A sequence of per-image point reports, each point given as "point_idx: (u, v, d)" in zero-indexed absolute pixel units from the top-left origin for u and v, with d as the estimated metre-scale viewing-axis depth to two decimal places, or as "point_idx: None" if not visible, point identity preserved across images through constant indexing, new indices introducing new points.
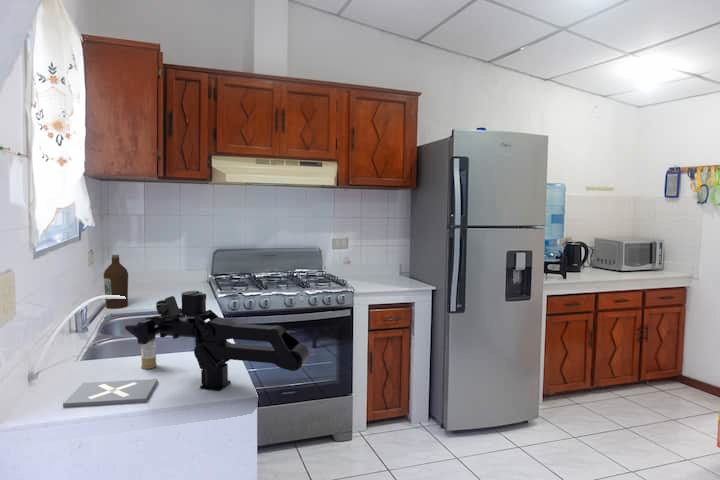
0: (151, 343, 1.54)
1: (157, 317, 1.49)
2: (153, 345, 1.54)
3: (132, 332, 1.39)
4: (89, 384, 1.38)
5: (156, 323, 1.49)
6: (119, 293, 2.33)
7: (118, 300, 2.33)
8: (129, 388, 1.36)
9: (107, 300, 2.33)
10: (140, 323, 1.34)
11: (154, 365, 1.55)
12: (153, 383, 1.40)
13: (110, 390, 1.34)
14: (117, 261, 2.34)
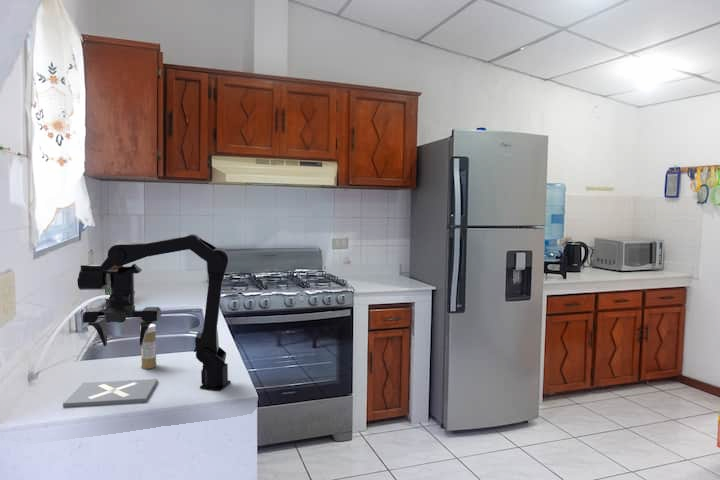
0: (151, 343, 1.54)
1: (103, 333, 1.33)
2: (153, 345, 1.54)
3: None
4: (89, 384, 1.38)
5: (106, 332, 1.35)
6: None
7: None
8: (129, 388, 1.36)
9: (107, 300, 2.33)
10: (155, 317, 1.33)
11: (154, 365, 1.55)
12: (153, 383, 1.40)
13: (110, 390, 1.34)
14: None
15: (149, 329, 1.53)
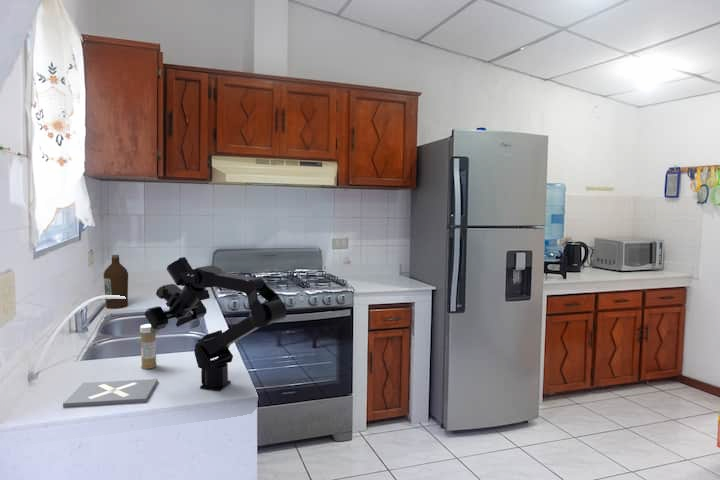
0: (151, 343, 1.54)
1: None
2: (153, 345, 1.54)
3: (154, 330, 1.44)
4: (89, 384, 1.38)
5: (183, 321, 1.53)
6: (119, 293, 2.33)
7: (118, 300, 2.33)
8: (129, 388, 1.36)
9: (107, 300, 2.33)
10: None
11: (154, 365, 1.55)
12: (153, 383, 1.40)
13: (110, 390, 1.34)
14: (117, 261, 2.34)
15: (149, 329, 1.53)
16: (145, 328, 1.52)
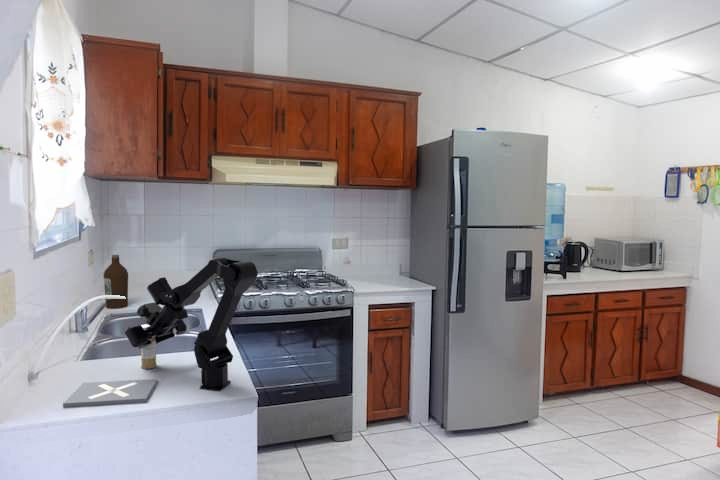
0: (151, 343, 1.54)
1: None
2: (153, 345, 1.54)
3: (141, 345, 1.51)
4: (89, 384, 1.38)
5: (158, 340, 1.56)
6: (119, 293, 2.33)
7: (118, 300, 2.33)
8: (129, 388, 1.36)
9: (107, 300, 2.33)
10: (126, 330, 1.45)
11: (154, 365, 1.55)
12: (153, 383, 1.40)
13: (110, 390, 1.34)
14: (117, 261, 2.34)
15: None
16: (145, 328, 1.52)
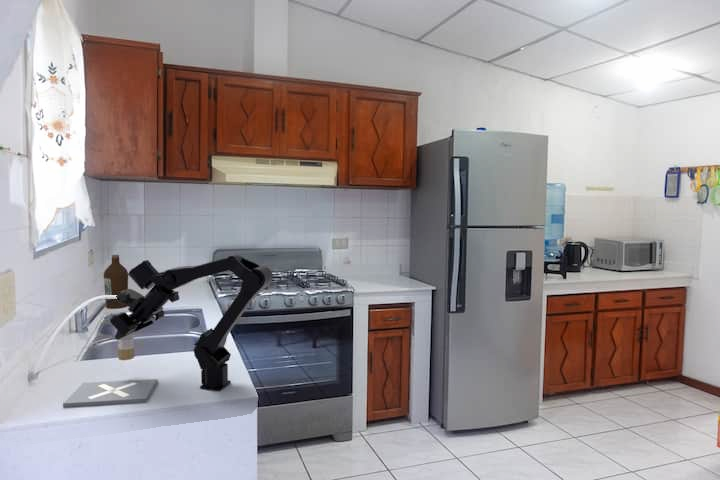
0: None
1: None
2: (132, 334, 1.44)
3: (122, 335, 1.41)
4: (89, 384, 1.38)
5: (135, 328, 1.46)
6: None
7: None
8: (129, 388, 1.36)
9: (107, 300, 2.33)
10: (111, 318, 1.34)
11: (133, 355, 1.45)
12: (153, 383, 1.40)
13: (110, 390, 1.34)
14: (117, 261, 2.34)
15: None
16: None
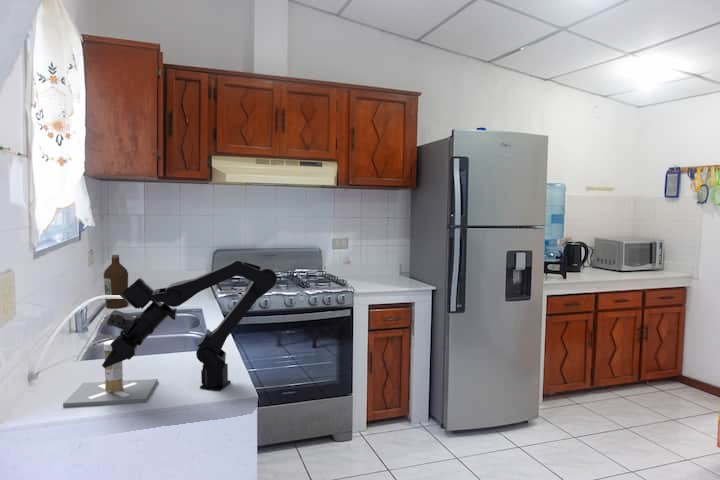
0: (121, 361, 1.34)
1: None
2: None
3: (113, 361, 1.29)
4: (89, 384, 1.38)
5: None
6: (119, 293, 2.33)
7: (118, 300, 2.33)
8: (129, 388, 1.36)
9: (107, 300, 2.33)
10: (113, 342, 1.25)
11: (122, 386, 1.36)
12: (153, 383, 1.40)
13: None
14: (117, 261, 2.34)
15: None
16: None
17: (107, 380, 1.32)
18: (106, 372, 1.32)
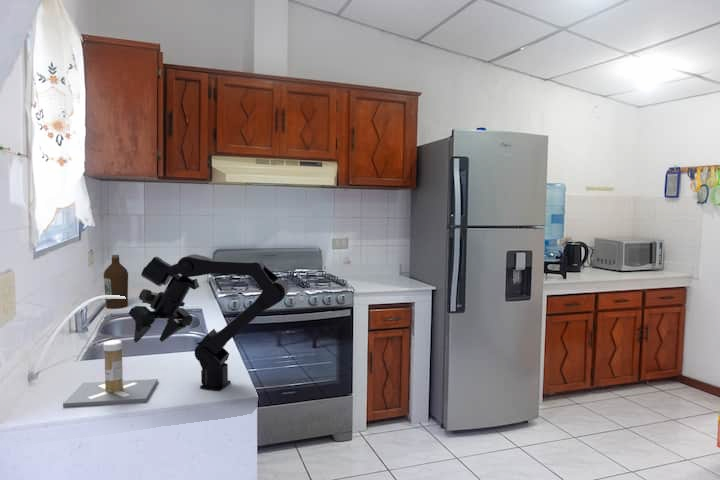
0: (121, 361, 1.34)
1: (165, 328, 1.44)
2: None
3: (139, 334, 1.34)
4: (89, 384, 1.38)
5: (168, 332, 1.43)
6: (119, 293, 2.33)
7: (118, 300, 2.33)
8: (129, 388, 1.36)
9: (107, 300, 2.33)
10: (130, 310, 1.32)
11: (122, 386, 1.36)
12: (153, 383, 1.40)
13: None
14: (117, 261, 2.34)
15: (120, 345, 1.33)
16: (116, 345, 1.32)
17: (107, 380, 1.32)
18: (106, 372, 1.32)
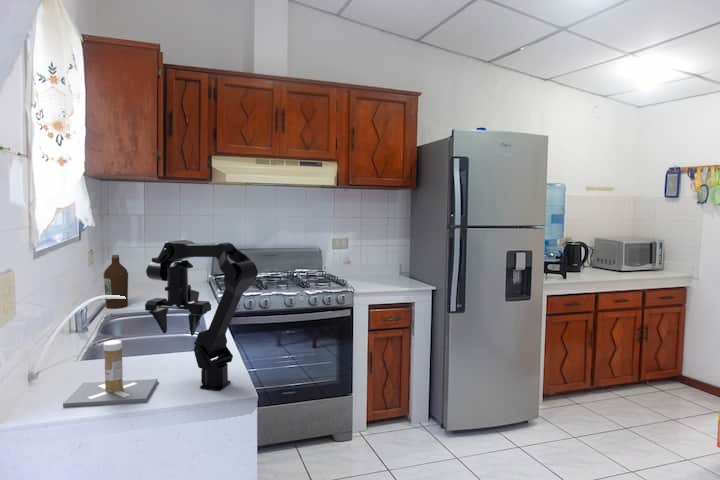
0: (121, 361, 1.34)
1: None
2: None
3: None
4: (89, 384, 1.38)
5: None
6: (119, 293, 2.33)
7: (118, 300, 2.33)
8: (129, 388, 1.36)
9: (107, 300, 2.33)
10: None
11: (122, 386, 1.36)
12: (153, 383, 1.40)
13: None
14: (117, 261, 2.34)
15: (120, 345, 1.33)
16: (116, 345, 1.32)
17: (107, 380, 1.32)
18: (106, 372, 1.32)
